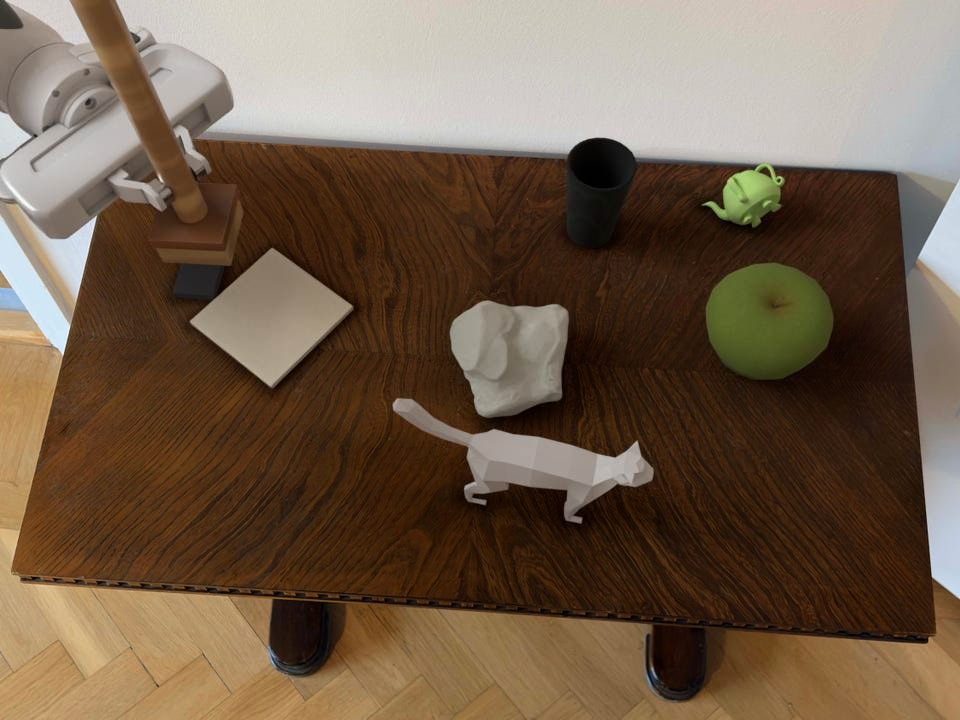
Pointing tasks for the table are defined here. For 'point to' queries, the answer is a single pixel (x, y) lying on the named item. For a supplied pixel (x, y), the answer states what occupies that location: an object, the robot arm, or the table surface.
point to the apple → (768, 320)
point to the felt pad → (198, 281)
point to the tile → (271, 317)
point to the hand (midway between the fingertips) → (185, 186)
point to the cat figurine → (534, 462)
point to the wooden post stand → (163, 150)
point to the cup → (597, 189)
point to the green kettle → (749, 196)
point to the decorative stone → (511, 355)
